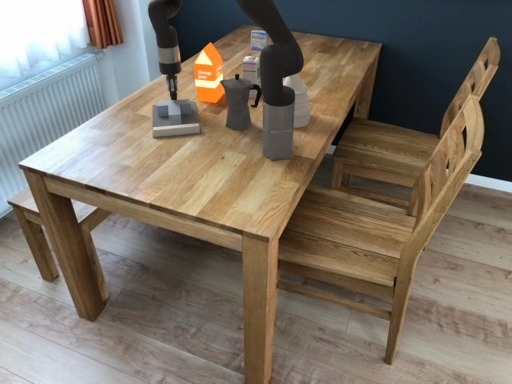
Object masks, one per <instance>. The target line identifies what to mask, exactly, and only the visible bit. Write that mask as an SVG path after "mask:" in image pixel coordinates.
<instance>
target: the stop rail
mask: <svg viewBox="0 0 512 384" xmlns="http://www.w3.org/2000/svg"><path fill="white" fill-rule="evenodd" d="M200 127H201V126H200ZM200 127H199V123H195V124H184V125H173V126H162V127H153V126H152V134H153V133H154V137H159V136H170V135H181V134H191V133H200Z"/></svg>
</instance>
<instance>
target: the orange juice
mask: <svg viewBox="0 0 512 384" xmlns="http://www.w3.org/2000/svg"><path fill="white" fill-rule="evenodd" d="M222 61H223V58H222V57H221V55H220V53H219V52H218V50H217V49H216V48H215V46H214V44H213V43H212V42H209V43H208V44H207V45H206V46H204V47H203V49H202V50H201V51H200V53H199V55H198V56H197V58H196V59H195V61H194V63H193V67H194V68H193V69H194V79H195V80H194V82H195V89H196V100H197V101H198V102H205V103H214V104H216V103H217V102H218V101H219V100H220V99H221V98H222V96H223V95H224V88H223V86H222V84H221V83H220V82H219V81H221V80H224V77H223V62H222Z"/></svg>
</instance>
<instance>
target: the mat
mask: <svg viewBox="0 0 512 384" xmlns="http://www.w3.org/2000/svg"><path fill="white" fill-rule="evenodd" d="M191 108H192V114H183V115H181V121H182V125H184V124H195V123H199V127H200V133H191V134H181V135H170V136H159V137H154V133H153V132H152V139H154V140H155V139H165V138H176V137H185V136H186V137H187V136H195V135H196V136H197V135H202V134H203V133H202V128H201V123H200V119H199V113H198V107H197V102H196V101H191ZM151 109H152V128H153V127H162V126H170V121H169V116H159V117H158V112H157V104H153V105H152V108H151Z"/></svg>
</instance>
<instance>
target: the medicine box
mask: <svg viewBox="0 0 512 384" xmlns="http://www.w3.org/2000/svg"><path fill="white" fill-rule="evenodd" d="M269 39H270V37H269V36H268V34H267V33H266V32H265V31H264V30H263V29H260V30H259V29H253V30H251V31H250V50H252V51H262V49H263V48H264V47H266V46H269V42H270V41H269Z"/></svg>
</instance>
